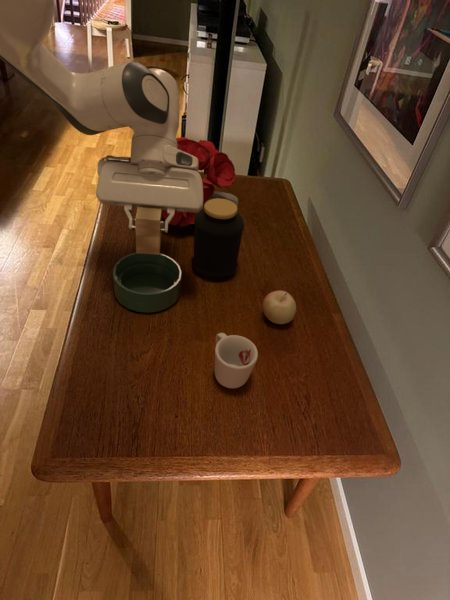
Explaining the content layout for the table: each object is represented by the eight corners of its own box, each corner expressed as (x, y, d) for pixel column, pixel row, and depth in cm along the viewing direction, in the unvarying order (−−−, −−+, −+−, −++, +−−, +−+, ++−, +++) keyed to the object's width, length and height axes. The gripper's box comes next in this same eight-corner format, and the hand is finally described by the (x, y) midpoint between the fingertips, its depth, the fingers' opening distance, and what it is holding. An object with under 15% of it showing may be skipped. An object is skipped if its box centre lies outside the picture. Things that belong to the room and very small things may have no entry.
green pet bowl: (119, 318, 86) (117, 298, 82) (110, 274, 96) (108, 254, 92) (186, 309, 91) (188, 289, 87) (171, 268, 101) (172, 249, 97)
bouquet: (197, 211, 135) (120, 180, 113) (238, 152, 125) (163, 105, 104) (226, 252, 123) (146, 225, 101) (274, 189, 113) (198, 145, 92)
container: (179, 265, 102) (184, 202, 90) (212, 248, 109) (220, 188, 97) (214, 290, 97) (224, 227, 85) (245, 270, 104) (258, 209, 92)
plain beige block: (136, 253, 79) (135, 218, 73) (138, 240, 82) (138, 205, 76) (159, 255, 79) (160, 220, 74) (161, 241, 82) (161, 207, 77)
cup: (197, 357, 81) (201, 330, 76) (232, 346, 85) (238, 320, 79) (221, 399, 75) (227, 373, 69) (258, 386, 78) (266, 360, 73)
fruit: (291, 309, 95) (300, 284, 90) (291, 332, 90) (301, 306, 85) (260, 304, 95) (267, 278, 90) (258, 326, 90) (265, 300, 85)
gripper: (95, 147, 73) (89, 222, 73) (206, 159, 76) (201, 232, 75) (101, 160, 79) (96, 229, 79) (204, 171, 82) (199, 238, 81)
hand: (148, 230), depth 77 cm, fingers closed on plain beige block, 4 cm apart
